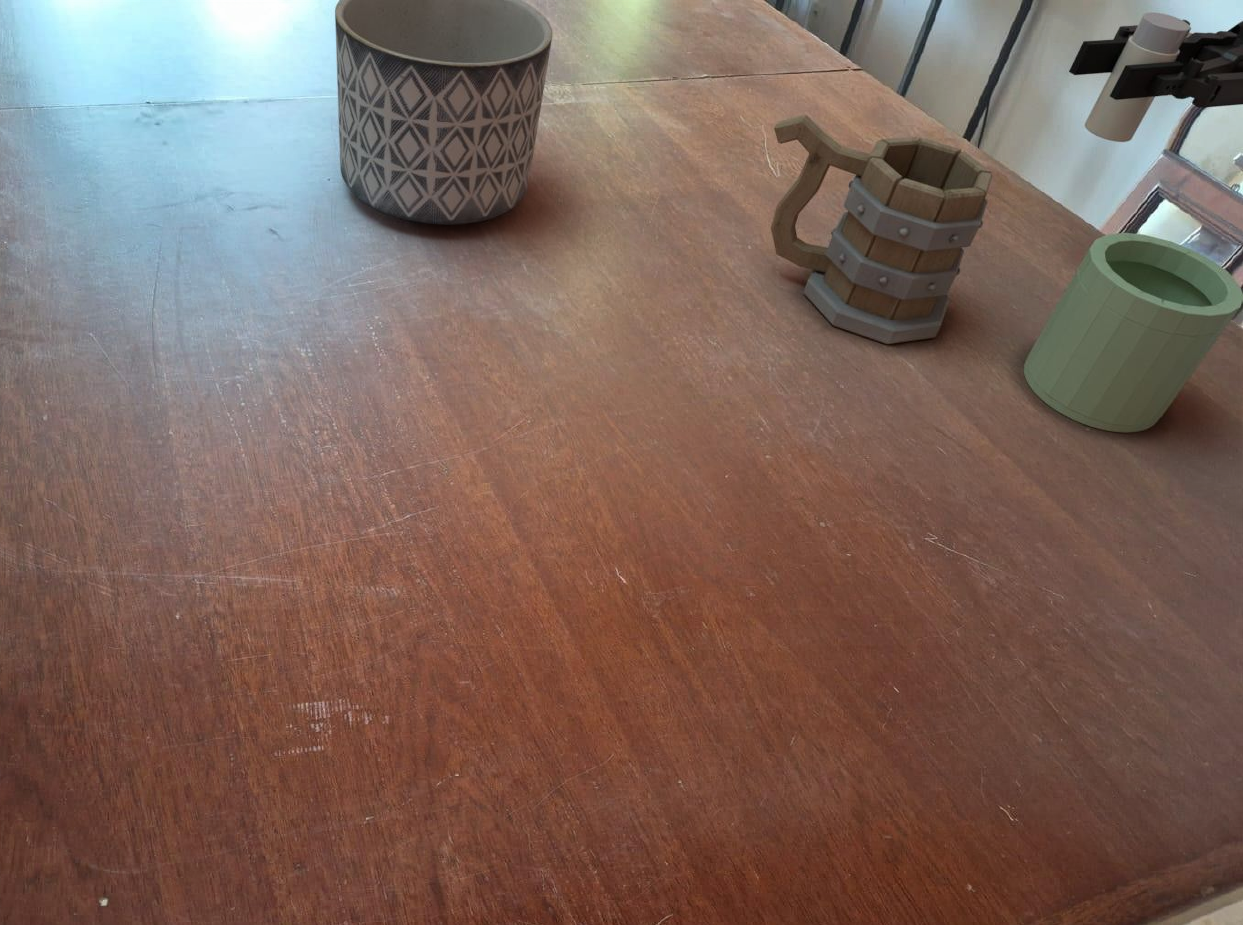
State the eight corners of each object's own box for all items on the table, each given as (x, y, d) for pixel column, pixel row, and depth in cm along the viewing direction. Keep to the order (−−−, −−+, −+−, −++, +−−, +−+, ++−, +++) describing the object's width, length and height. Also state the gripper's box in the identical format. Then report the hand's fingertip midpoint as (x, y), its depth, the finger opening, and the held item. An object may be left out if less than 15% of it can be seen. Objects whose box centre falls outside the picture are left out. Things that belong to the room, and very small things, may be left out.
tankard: (948, 293, 103) (1019, 146, 92) (928, 359, 95) (1003, 206, 84) (754, 230, 107) (799, 82, 97) (717, 287, 99) (763, 133, 88)
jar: (1127, 355, 99) (1202, 240, 91) (1183, 438, 91) (1271, 321, 82) (1005, 342, 98) (1069, 226, 90) (1050, 426, 90) (1125, 306, 81)
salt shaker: (1120, 123, 102) (1179, 14, 95) (1139, 144, 99) (1201, 33, 92) (1077, 118, 101) (1133, 8, 94) (1094, 139, 98) (1153, 27, 91)
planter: (500, 261, 98) (521, 83, 86) (305, 212, 100) (300, 32, 88) (549, 170, 111) (573, 5, 99) (376, 129, 113) (379, -37, 101)
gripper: (1325, 136, 99) (1150, 156, 91) (1183, 59, 110) (1014, 71, 102) (1382, 55, 94) (1200, 69, 86) (1226, -19, 105) (1051, -12, 96)
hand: (1099, 70), depth 94 cm, fingers closed on salt shaker, 4 cm apart
